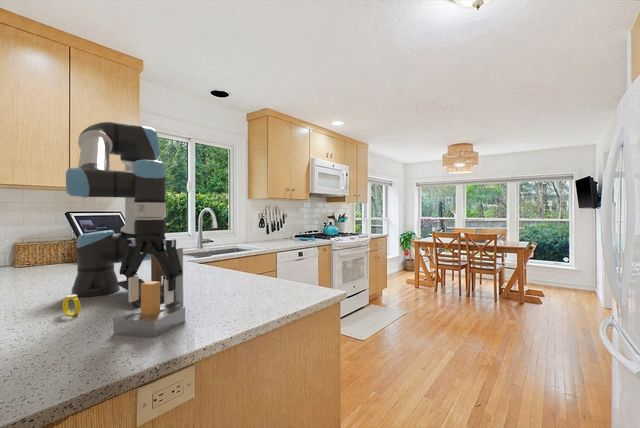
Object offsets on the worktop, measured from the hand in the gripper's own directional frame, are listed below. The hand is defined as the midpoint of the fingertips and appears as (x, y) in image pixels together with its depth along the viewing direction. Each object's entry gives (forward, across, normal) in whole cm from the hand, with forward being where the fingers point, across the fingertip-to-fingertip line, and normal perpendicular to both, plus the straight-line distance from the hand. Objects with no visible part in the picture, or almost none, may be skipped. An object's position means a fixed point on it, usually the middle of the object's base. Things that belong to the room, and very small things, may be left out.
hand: (151, 301), depth 85 cm
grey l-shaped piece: (+7, 0, +3) cm, 7 cm away
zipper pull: (+7, -18, +18) cm, 26 cm away
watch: (+7, -31, +4) cm, 32 cm away
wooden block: (+7, -21, +31) cm, 38 cm away
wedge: (+7, 0, 0) cm, 7 cm away
